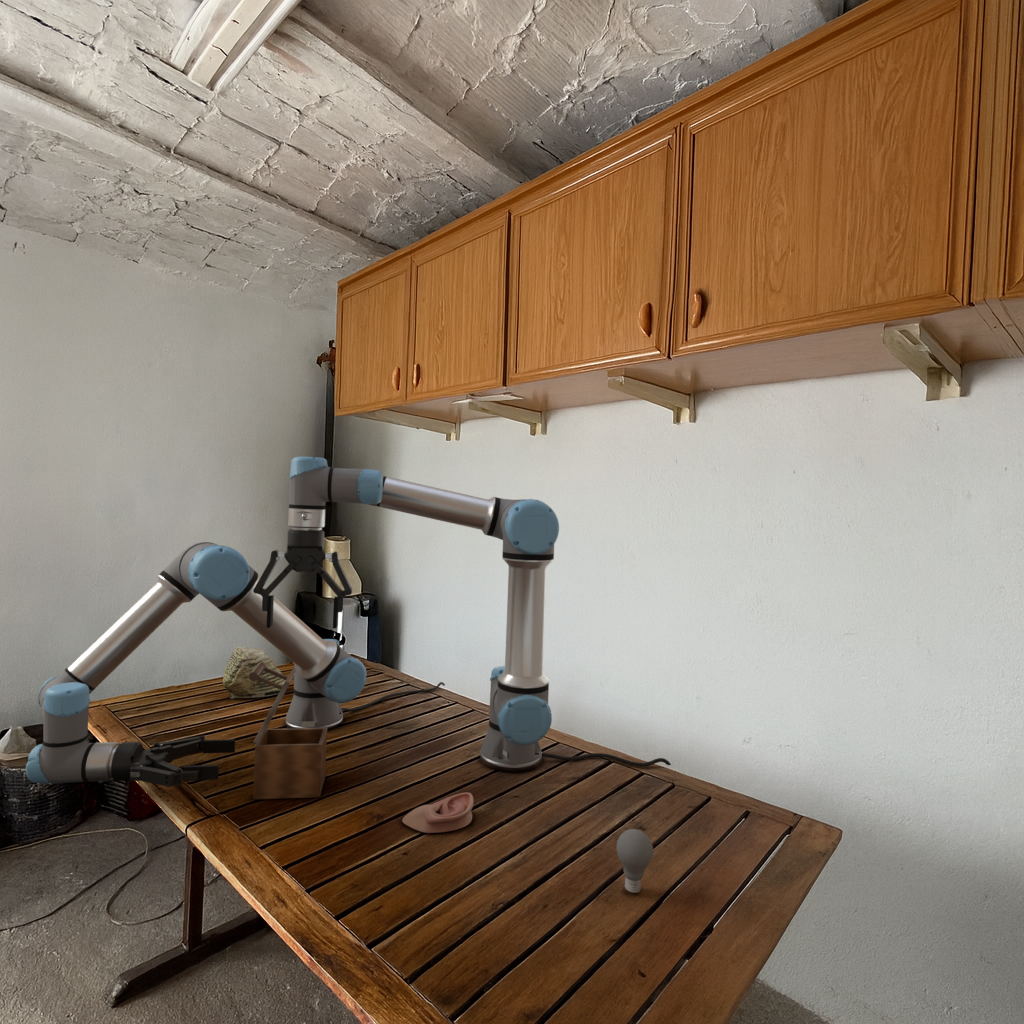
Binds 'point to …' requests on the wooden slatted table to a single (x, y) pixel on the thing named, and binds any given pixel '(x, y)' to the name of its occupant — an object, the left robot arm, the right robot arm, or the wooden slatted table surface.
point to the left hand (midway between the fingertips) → (226, 758)
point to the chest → (290, 763)
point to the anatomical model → (442, 814)
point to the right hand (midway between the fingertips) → (302, 627)
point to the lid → (256, 676)
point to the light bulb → (634, 857)
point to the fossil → (240, 669)
